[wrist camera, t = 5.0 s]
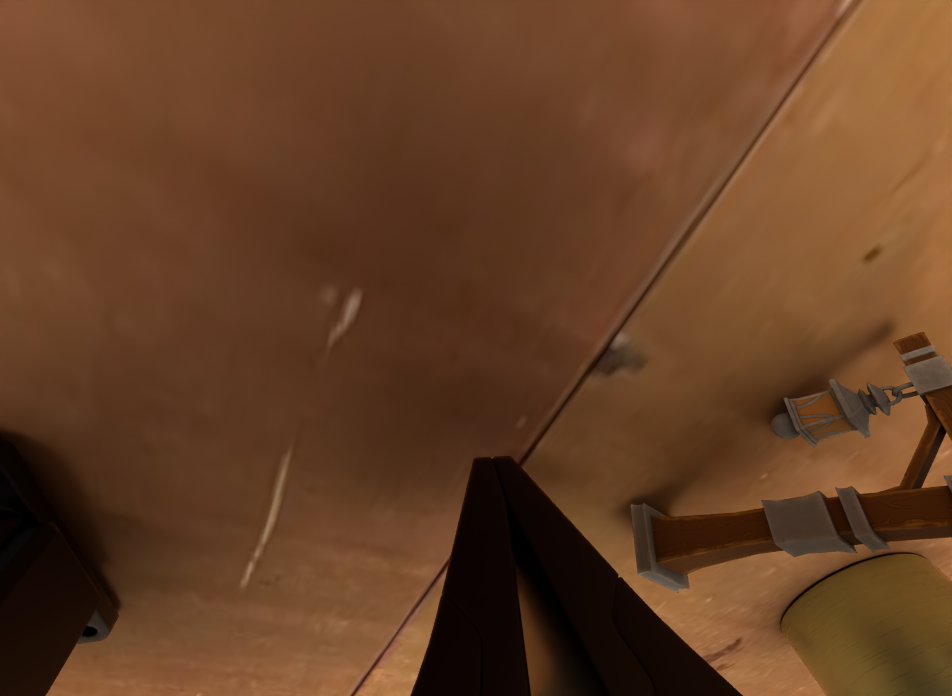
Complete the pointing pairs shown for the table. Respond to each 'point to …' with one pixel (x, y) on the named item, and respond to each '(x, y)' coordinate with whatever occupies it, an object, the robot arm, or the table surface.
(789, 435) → the wooden lantern post
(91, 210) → the table surface
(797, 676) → the table surface
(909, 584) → the enamel tin
